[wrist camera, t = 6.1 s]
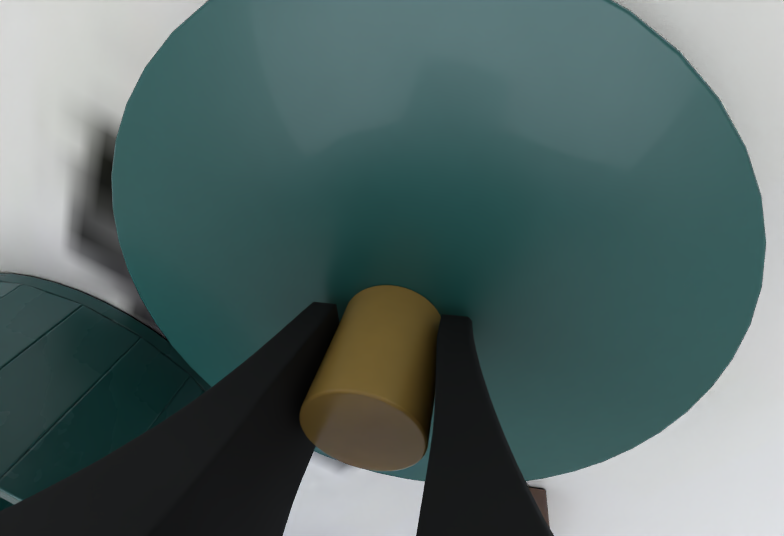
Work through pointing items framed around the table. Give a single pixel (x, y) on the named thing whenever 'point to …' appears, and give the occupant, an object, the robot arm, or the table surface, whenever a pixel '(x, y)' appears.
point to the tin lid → (445, 214)
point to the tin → (76, 383)
